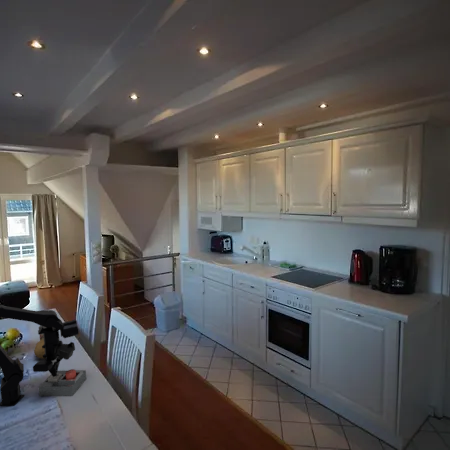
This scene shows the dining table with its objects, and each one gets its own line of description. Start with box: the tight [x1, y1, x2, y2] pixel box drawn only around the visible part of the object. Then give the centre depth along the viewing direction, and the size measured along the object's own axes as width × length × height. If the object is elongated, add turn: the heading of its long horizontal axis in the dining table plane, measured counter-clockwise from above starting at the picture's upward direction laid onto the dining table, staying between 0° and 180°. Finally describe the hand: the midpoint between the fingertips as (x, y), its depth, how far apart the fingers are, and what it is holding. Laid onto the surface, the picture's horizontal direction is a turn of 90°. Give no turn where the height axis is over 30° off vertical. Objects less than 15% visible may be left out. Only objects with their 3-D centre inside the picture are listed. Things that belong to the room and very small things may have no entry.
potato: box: [33, 339, 45, 359], centre depth 163 cm, size 10×14×8 cm
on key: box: [47, 373, 62, 382], centre depth 136 cm, size 4×4×5 cm
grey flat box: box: [37, 369, 87, 397], centre depth 136 cm, size 12×14×5 cm
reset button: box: [65, 368, 76, 380], centre depth 135 cm, size 4×4×5 cm
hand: (54, 376), depth 135 cm, fingers closed
